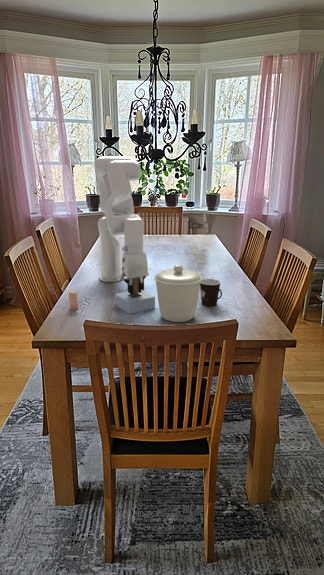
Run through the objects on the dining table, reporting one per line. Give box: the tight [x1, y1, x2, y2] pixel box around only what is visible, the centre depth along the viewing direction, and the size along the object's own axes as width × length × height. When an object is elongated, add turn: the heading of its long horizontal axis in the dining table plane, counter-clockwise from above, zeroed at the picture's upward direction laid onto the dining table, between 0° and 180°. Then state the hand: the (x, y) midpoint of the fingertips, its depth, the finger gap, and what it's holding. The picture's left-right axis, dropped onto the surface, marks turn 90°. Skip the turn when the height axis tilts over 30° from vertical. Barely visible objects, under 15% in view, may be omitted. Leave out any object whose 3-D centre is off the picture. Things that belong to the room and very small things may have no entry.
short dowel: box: [68, 290, 79, 311], centre depth 162 cm, size 3×3×7 cm
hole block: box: [114, 290, 156, 315], centre depth 164 cm, size 12×12×5 cm
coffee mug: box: [199, 278, 223, 308], centre depth 165 cm, size 12×9×10 cm
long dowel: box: [131, 277, 139, 298], centre depth 163 cm, size 3×3×13 cm
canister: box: [154, 264, 203, 323], centre depth 151 cm, size 18×18×21 cm
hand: (134, 292), depth 163 cm, fingers closed on long dowel, 3 cm apart
